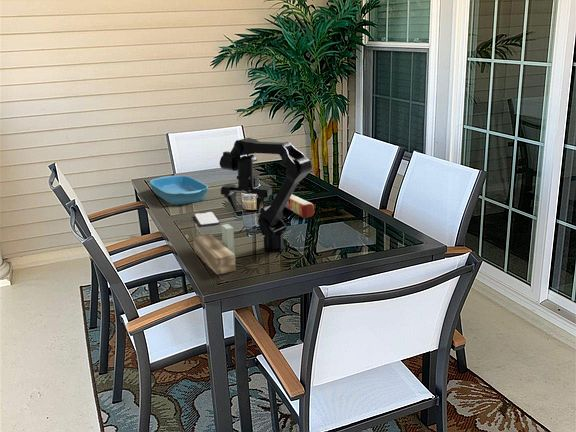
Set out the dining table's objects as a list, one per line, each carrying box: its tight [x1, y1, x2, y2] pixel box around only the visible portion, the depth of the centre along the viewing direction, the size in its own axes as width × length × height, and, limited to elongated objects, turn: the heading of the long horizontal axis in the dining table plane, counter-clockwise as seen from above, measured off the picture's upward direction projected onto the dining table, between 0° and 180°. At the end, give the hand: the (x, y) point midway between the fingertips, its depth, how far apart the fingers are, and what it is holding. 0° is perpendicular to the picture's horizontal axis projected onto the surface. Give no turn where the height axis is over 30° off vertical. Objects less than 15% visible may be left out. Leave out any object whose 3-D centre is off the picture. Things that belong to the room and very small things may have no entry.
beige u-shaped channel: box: [192, 233, 237, 275], centre depth 204 cm, size 7×24×6 cm, turn 27°
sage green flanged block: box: [221, 223, 236, 255], centre depth 204 cm, size 8×6×12 cm
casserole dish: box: [149, 175, 209, 206], centre depth 285 cm, size 37×22×7 cm, turn 32°
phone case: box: [193, 211, 221, 228], centre depth 249 cm, size 9×2×16 cm
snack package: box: [284, 193, 315, 219], centre depth 258 cm, size 21×7×7 cm, turn 26°
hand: (247, 212), depth 219 cm, fingers open, 9 cm apart
